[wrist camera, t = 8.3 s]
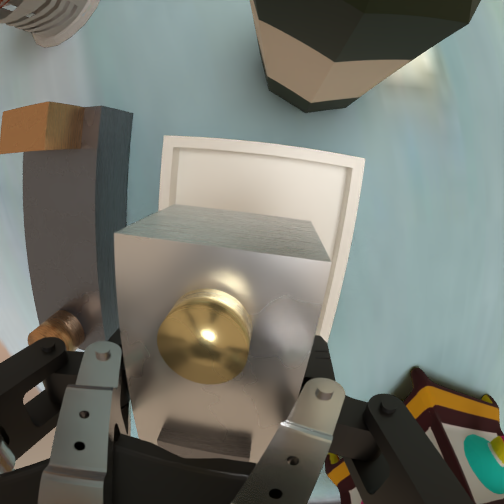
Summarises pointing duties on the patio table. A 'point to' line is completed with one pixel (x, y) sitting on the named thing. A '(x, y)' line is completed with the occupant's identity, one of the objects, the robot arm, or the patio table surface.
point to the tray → (270, 191)
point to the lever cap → (217, 325)
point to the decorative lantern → (448, 440)
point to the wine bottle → (346, 43)
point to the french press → (48, 18)
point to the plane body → (72, 213)
